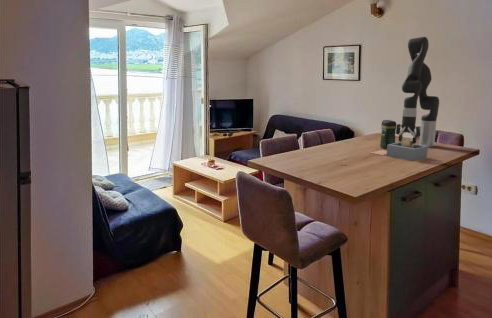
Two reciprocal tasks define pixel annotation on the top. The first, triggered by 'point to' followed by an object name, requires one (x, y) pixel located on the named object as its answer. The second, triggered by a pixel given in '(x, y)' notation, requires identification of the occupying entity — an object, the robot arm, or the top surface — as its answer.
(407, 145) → the maple block
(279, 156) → the top surface
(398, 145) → the box
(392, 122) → the coffee jar
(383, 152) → the terracotta mat
